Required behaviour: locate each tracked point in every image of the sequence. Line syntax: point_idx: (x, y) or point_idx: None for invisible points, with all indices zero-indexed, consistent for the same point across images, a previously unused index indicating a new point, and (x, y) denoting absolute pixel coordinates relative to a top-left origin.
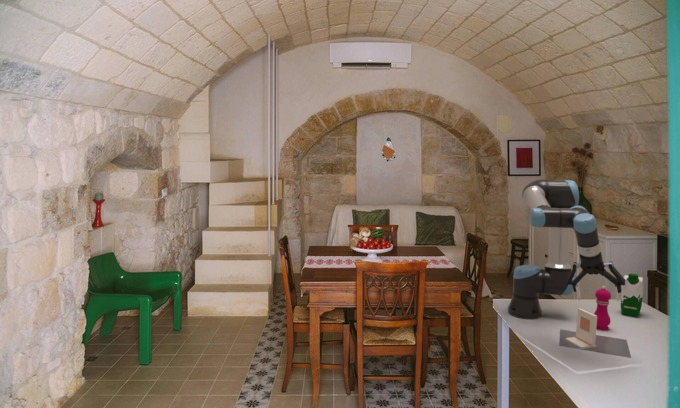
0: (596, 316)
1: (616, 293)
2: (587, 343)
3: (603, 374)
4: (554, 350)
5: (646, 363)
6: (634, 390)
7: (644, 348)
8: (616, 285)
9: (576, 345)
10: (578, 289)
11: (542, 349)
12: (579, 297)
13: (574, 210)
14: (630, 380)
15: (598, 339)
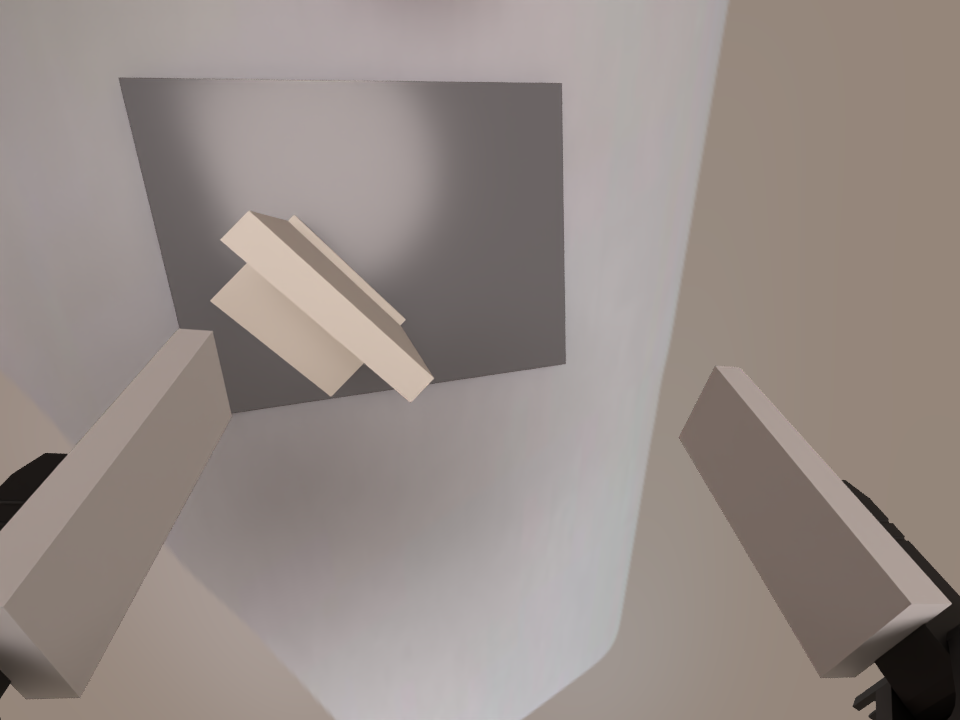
0: (427, 383)
1: (751, 539)
2: None
3: (451, 577)
4: None
5: (615, 356)
6: (550, 628)
7: (632, 150)
8: (884, 710)
9: (299, 370)
10: (131, 567)
11: None
12: (209, 451)
13: None
14: (543, 562)
15: (409, 170)
